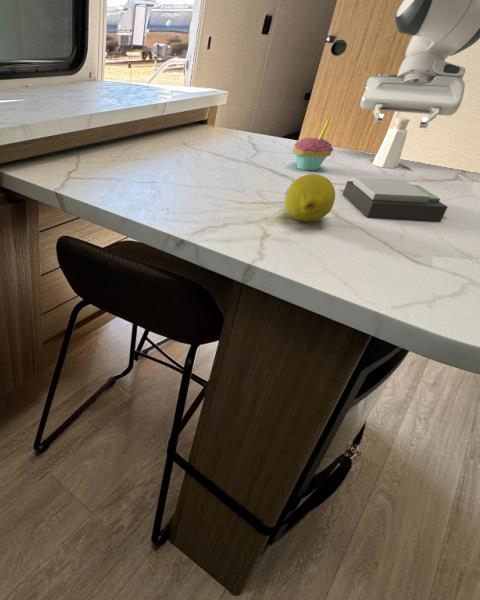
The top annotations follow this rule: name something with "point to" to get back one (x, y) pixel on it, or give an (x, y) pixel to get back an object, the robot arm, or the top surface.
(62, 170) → the top surface
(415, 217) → the scale
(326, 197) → the lemon
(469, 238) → the top surface
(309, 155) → the cupcake
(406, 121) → the salt shaker
